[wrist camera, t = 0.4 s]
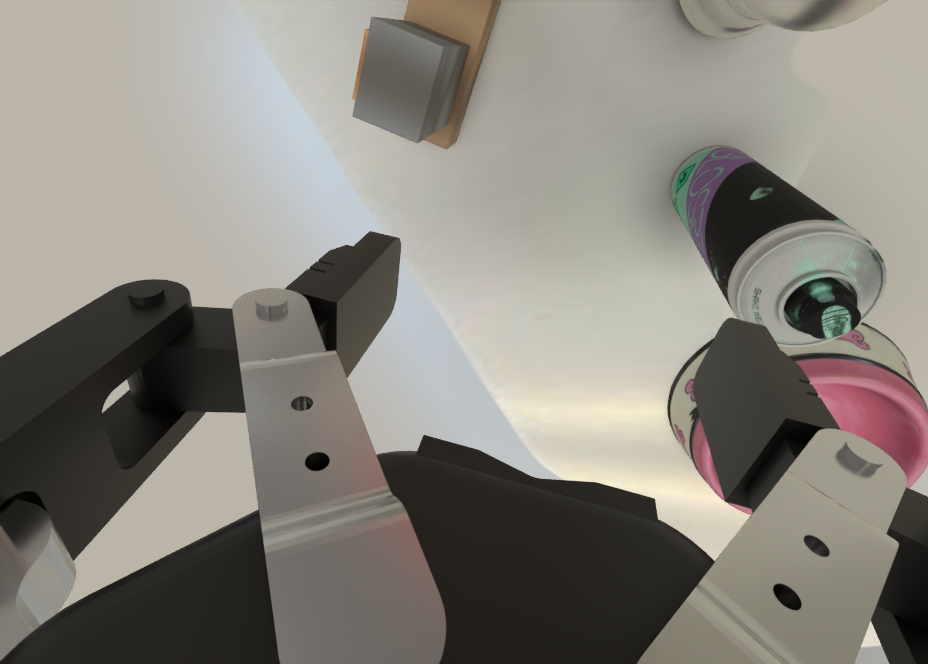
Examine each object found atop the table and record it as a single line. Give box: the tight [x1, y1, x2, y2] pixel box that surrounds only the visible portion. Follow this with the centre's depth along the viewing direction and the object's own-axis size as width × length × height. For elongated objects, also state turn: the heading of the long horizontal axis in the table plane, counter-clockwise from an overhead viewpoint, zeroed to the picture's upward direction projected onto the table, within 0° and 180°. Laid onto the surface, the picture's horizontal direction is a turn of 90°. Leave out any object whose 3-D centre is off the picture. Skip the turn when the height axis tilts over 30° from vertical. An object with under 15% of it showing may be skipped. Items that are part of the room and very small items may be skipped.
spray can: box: [671, 146, 886, 347], centre depth 26 cm, size 6×6×20 cm
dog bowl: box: [668, 322, 928, 515], centre depth 40 cm, size 18×19×7 cm
